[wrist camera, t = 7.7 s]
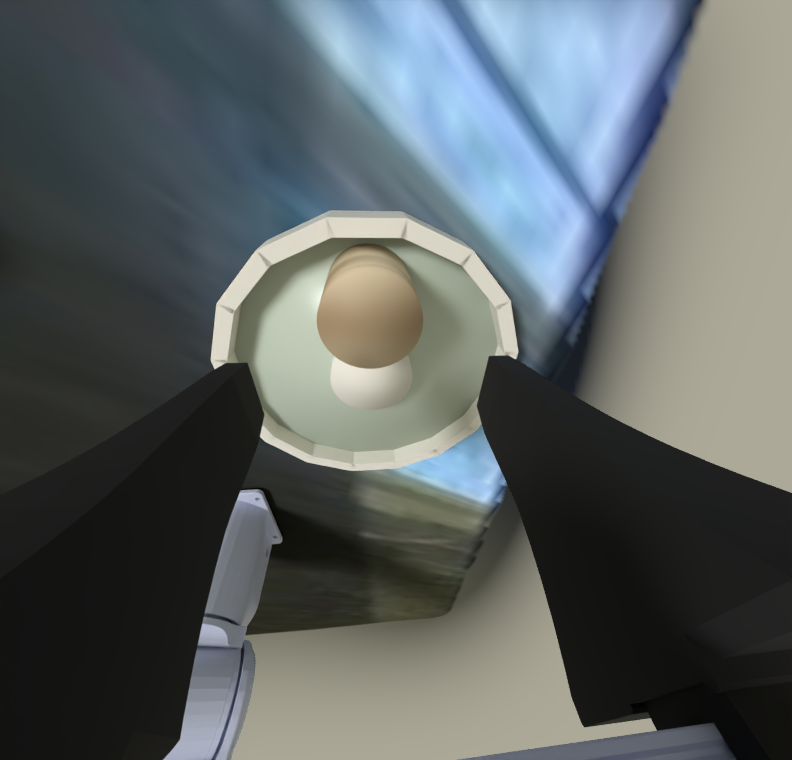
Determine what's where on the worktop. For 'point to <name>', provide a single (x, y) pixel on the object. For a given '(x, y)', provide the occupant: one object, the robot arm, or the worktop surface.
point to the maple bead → (369, 308)
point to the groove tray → (351, 386)
